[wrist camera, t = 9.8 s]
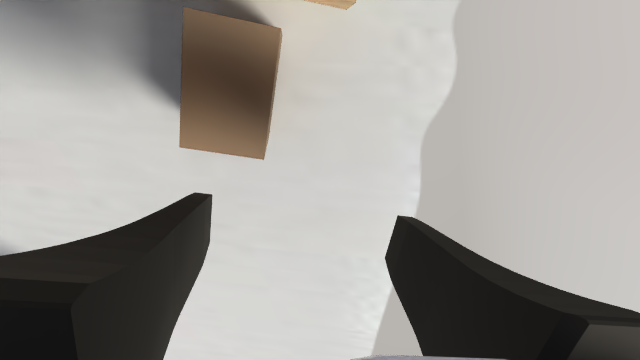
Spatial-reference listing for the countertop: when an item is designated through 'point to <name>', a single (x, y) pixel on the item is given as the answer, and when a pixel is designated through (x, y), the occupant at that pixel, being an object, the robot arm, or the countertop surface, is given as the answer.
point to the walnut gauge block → (227, 83)
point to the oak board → (335, 3)
